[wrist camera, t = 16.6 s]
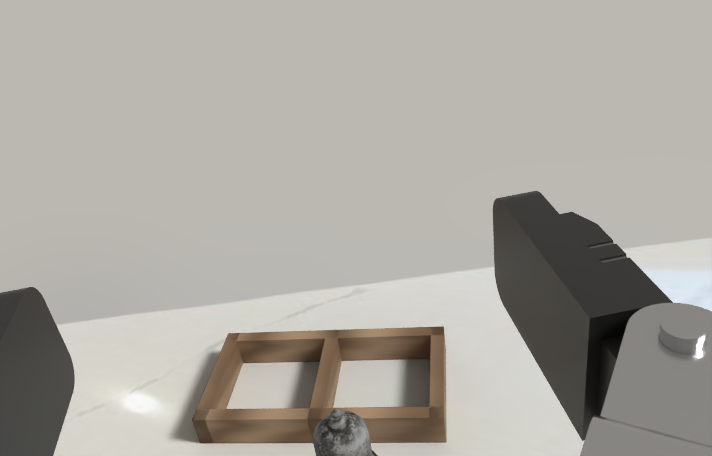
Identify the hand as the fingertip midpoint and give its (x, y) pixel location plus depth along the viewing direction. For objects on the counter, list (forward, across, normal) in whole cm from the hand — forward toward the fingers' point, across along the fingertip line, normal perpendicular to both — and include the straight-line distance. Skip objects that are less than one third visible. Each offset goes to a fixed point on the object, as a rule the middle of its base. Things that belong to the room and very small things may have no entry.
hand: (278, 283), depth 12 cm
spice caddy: (+28, 0, +30) cm, 41 cm away
